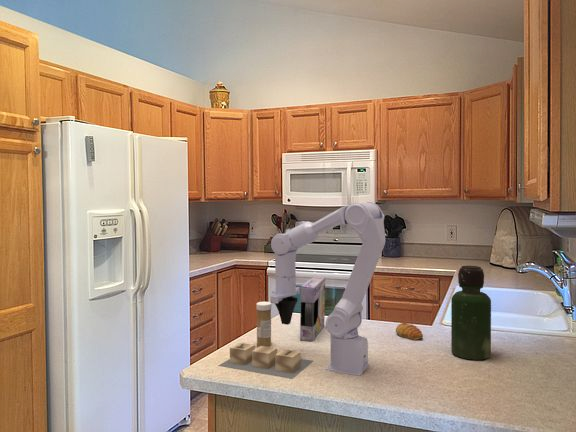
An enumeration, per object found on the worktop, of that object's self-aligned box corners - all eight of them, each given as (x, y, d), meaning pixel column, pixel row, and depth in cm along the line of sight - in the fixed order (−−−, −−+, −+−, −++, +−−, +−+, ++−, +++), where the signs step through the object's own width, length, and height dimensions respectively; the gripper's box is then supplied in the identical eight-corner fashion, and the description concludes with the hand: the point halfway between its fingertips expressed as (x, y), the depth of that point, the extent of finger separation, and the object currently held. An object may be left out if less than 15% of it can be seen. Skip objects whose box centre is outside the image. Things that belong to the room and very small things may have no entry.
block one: (301, 366, 122) (300, 351, 122) (292, 373, 118) (292, 357, 118) (284, 363, 125) (283, 348, 124) (275, 370, 120) (275, 354, 120)
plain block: (277, 362, 125) (277, 348, 125) (268, 368, 121) (268, 353, 121) (261, 360, 128) (261, 345, 128) (252, 366, 123) (251, 351, 123)
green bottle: (496, 354, 132) (496, 266, 131) (482, 363, 124) (482, 270, 123) (460, 346, 139) (460, 263, 138) (445, 355, 131) (445, 267, 130)
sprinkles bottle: (256, 344, 142) (255, 301, 142) (271, 344, 143) (270, 300, 143) (257, 349, 138) (256, 304, 138) (272, 348, 138) (272, 304, 138)
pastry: (428, 339, 146) (428, 327, 146) (410, 342, 144) (410, 330, 144) (409, 332, 155) (409, 320, 155) (393, 334, 153) (392, 323, 152)
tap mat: (314, 362, 127) (314, 360, 127) (292, 380, 114) (292, 378, 114) (245, 351, 136) (245, 350, 136) (217, 367, 124) (217, 365, 124)
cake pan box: (313, 342, 144) (313, 286, 143) (298, 341, 145) (297, 285, 145) (326, 326, 162) (325, 276, 162) (312, 325, 164) (311, 275, 163)
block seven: (255, 359, 129) (254, 344, 128) (245, 364, 124) (245, 349, 124) (239, 356, 131) (239, 342, 131) (229, 362, 126) (229, 347, 126)
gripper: (284, 271, 139) (284, 316, 139) (260, 279, 126) (261, 328, 126) (305, 272, 136) (306, 318, 136) (283, 280, 123) (284, 331, 123)
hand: (286, 323), depth 131 cm, fingers closed
